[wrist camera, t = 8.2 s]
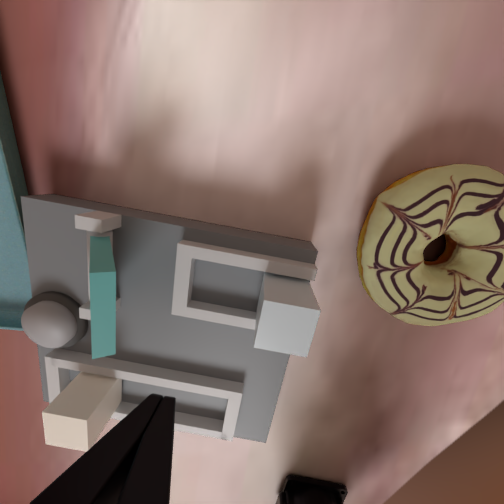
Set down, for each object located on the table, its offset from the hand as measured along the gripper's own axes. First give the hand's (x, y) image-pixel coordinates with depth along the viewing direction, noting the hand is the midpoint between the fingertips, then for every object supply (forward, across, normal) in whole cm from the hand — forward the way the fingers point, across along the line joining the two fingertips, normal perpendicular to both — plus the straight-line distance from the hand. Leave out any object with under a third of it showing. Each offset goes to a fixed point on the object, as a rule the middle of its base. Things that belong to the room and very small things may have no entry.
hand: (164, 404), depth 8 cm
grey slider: (+9, -4, 0) cm, 10 cm away
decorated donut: (+12, -14, -5) cm, 20 cm away
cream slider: (+9, +8, +11) cm, 16 cm away
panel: (+12, +4, +5) cm, 14 cm away
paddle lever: (+8, +8, 0) cm, 11 cm away
